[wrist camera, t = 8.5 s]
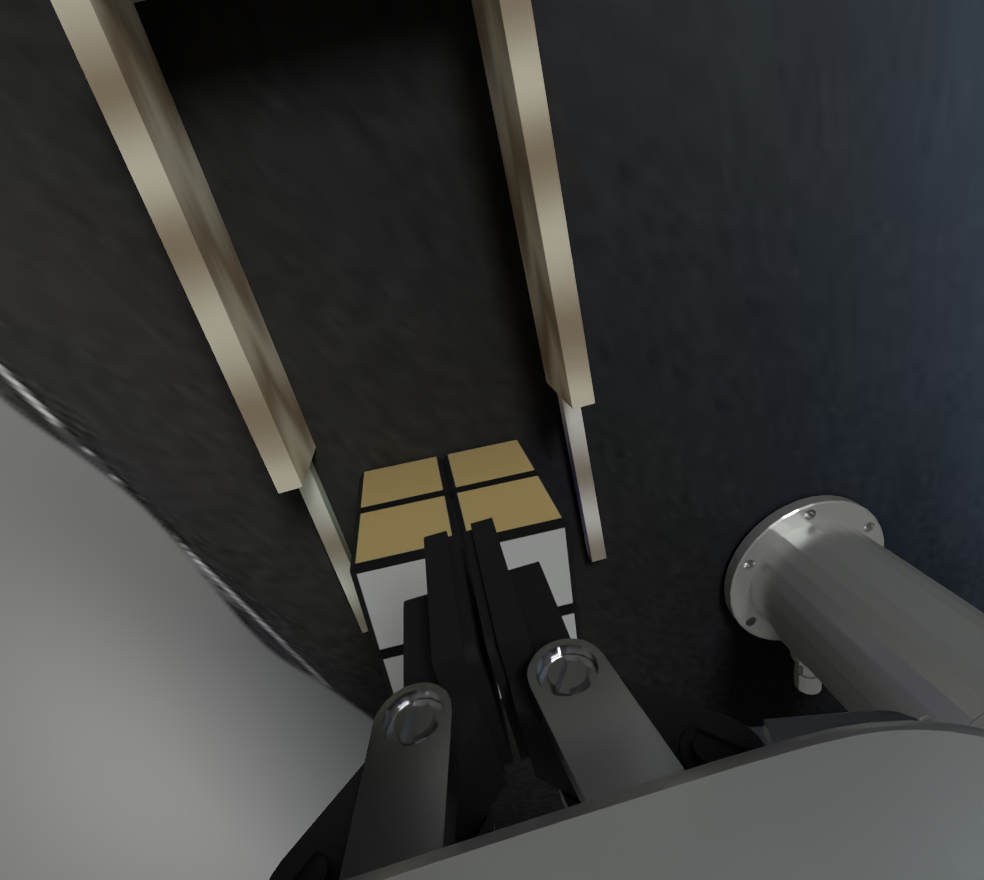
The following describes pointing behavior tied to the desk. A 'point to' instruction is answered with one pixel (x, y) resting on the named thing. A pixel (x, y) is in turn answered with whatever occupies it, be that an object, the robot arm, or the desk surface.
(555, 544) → the puzzle cube
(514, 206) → the wooden frame
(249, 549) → the desk surface
